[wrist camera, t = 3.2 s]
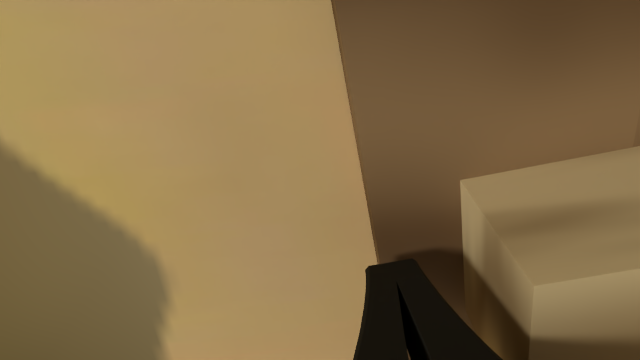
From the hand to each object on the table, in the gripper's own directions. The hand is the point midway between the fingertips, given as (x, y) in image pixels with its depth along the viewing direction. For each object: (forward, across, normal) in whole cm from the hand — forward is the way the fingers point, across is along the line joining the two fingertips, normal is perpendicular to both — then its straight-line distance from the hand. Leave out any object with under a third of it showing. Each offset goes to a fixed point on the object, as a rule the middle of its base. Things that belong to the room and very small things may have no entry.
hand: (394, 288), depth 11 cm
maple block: (+1, -5, 0) cm, 5 cm away
